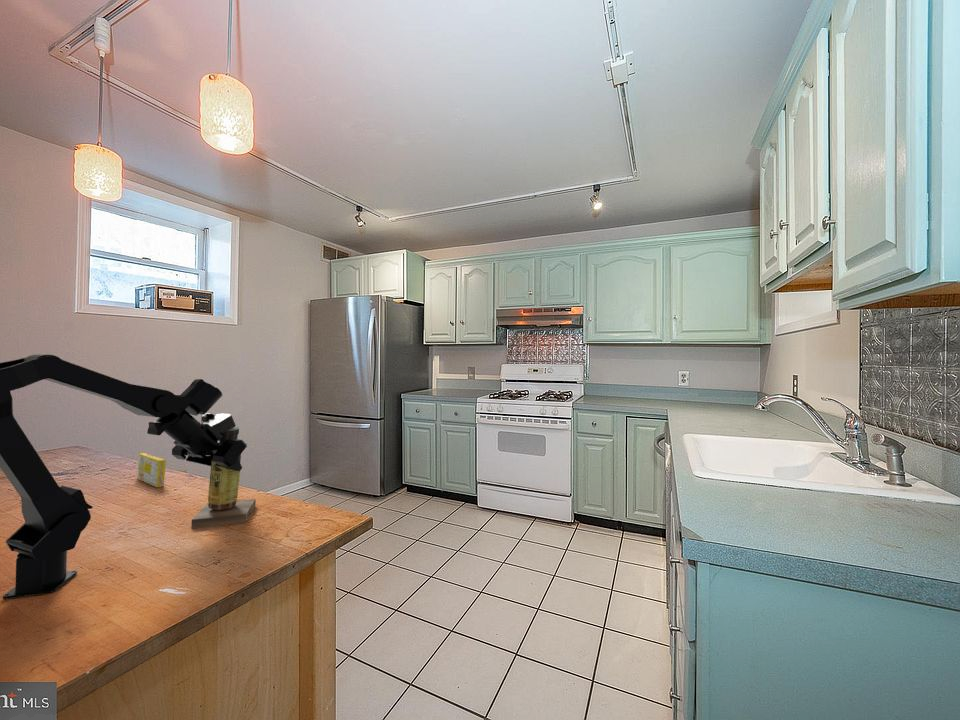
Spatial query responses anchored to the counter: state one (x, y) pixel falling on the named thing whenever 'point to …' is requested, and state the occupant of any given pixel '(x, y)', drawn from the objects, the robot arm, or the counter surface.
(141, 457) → the candy box
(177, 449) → the robot arm
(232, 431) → the sauce bottle
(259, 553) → the counter surface
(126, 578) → the counter surface
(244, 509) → the trivet
